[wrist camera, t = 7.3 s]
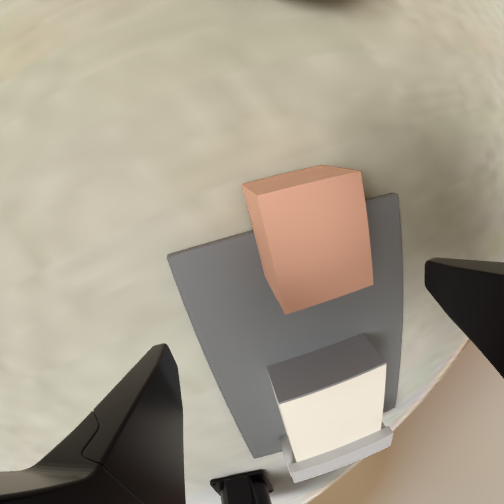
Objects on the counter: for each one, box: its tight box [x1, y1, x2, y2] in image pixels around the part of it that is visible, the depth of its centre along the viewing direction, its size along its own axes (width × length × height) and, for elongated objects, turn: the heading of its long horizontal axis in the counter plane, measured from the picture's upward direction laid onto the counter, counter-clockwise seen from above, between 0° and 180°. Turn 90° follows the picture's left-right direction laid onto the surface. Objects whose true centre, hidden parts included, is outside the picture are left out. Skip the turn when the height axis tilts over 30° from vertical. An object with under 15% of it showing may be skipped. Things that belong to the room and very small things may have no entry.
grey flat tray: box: [167, 193, 403, 483], centre depth 21 cm, size 23×16×6 cm
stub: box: [242, 165, 373, 315], centre depth 16 cm, size 6×5×5 cm
